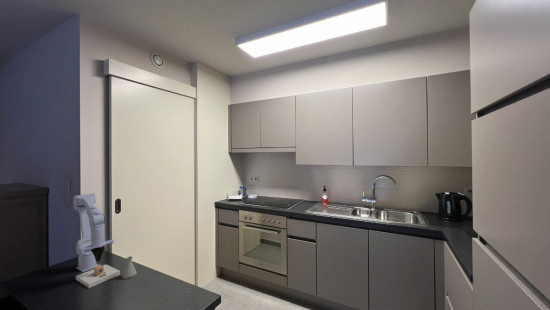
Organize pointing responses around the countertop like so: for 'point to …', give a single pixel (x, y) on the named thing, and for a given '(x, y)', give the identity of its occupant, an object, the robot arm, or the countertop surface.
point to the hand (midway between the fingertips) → (98, 260)
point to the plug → (98, 270)
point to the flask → (129, 269)
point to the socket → (91, 281)
